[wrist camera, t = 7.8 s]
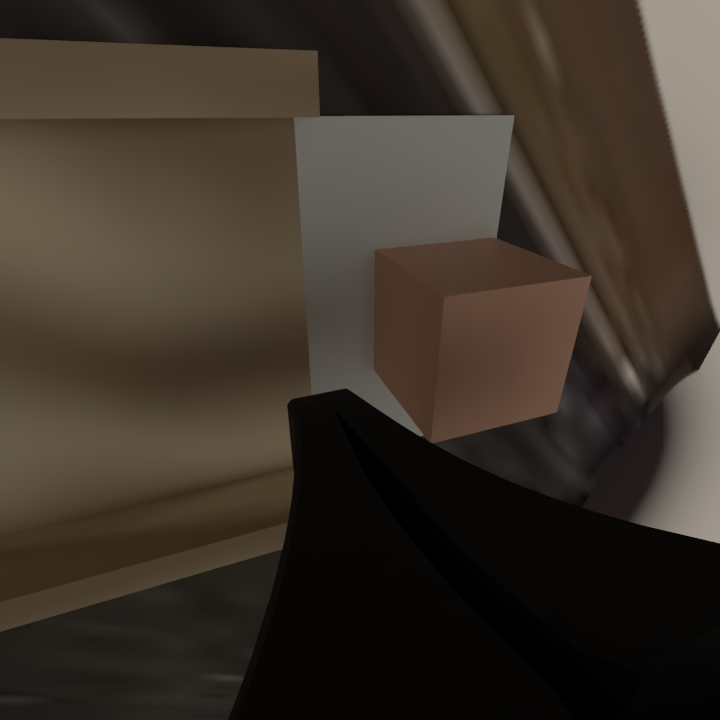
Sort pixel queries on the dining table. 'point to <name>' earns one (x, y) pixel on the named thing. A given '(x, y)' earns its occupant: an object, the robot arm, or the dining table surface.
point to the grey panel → (384, 221)
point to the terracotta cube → (474, 333)
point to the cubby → (146, 313)
